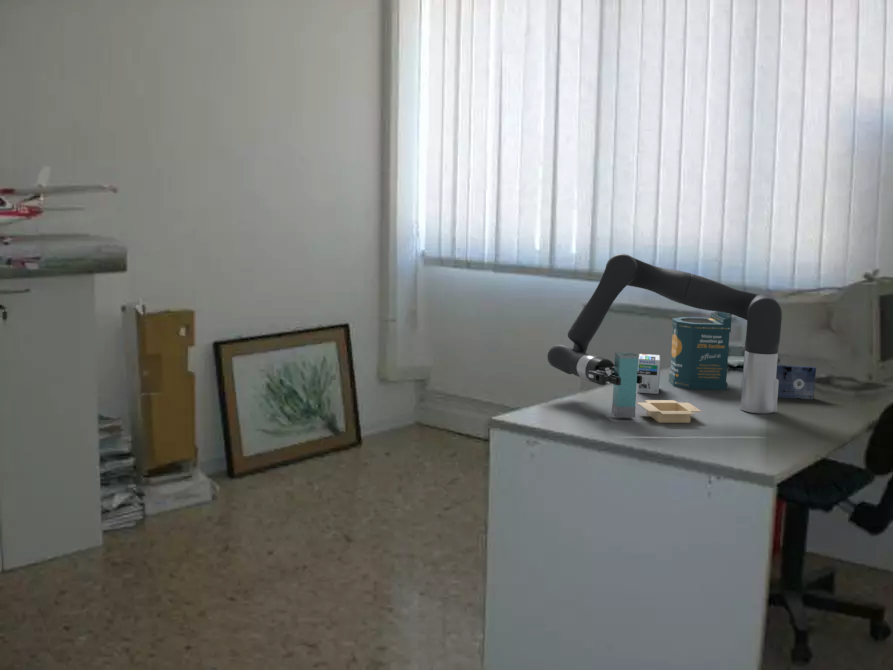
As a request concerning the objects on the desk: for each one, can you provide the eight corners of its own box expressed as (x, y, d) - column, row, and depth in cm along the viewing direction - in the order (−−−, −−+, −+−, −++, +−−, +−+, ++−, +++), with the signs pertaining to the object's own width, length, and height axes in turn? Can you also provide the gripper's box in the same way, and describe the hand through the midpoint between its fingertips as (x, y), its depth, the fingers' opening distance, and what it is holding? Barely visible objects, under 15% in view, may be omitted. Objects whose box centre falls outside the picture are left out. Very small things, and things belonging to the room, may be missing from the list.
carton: (684, 412, 292) (684, 400, 292) (704, 426, 276) (705, 413, 275) (633, 412, 291) (634, 400, 290) (650, 426, 274) (651, 413, 274)
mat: (633, 416, 285) (633, 415, 285) (641, 423, 277) (641, 422, 277) (605, 416, 284) (605, 415, 284) (612, 423, 276) (612, 421, 276)
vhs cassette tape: (812, 398, 317) (815, 366, 316) (814, 400, 314) (816, 368, 313) (751, 394, 320) (753, 363, 319) (752, 396, 317) (754, 364, 316)
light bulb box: (658, 394, 316) (660, 360, 315) (636, 393, 318) (638, 358, 316) (658, 387, 327) (660, 354, 325) (637, 386, 328) (639, 353, 326)
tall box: (629, 413, 283) (633, 352, 281) (634, 417, 278) (638, 356, 276) (611, 413, 283) (615, 352, 280) (616, 417, 278) (619, 355, 275)
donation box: (726, 390, 326) (732, 302, 322) (676, 388, 326) (681, 301, 322) (714, 380, 342) (719, 296, 338) (665, 378, 342) (670, 295, 338)
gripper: (574, 357, 288) (609, 368, 273) (617, 355, 294) (653, 365, 279) (573, 384, 289) (607, 396, 274) (615, 380, 295) (651, 392, 281)
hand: (630, 380), depth 277 cm, fingers closed on tall box, 6 cm apart
